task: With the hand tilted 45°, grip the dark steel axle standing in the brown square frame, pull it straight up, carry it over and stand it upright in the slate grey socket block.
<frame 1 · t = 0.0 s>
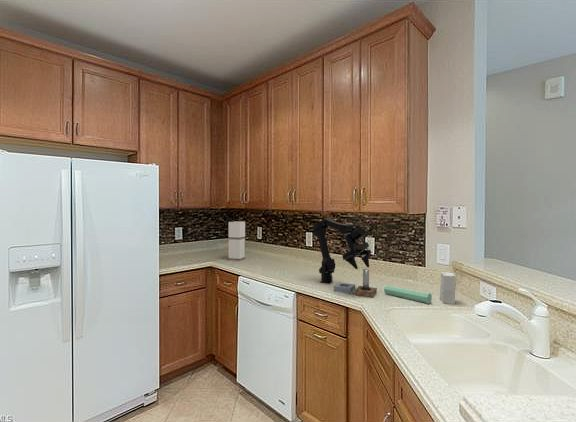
hand: (362, 268, 169), 15 cm above the counter, tool tilted 35°, fingers open, 9 cm apart
brown square frame: (365, 294, 170), on the counter
socket block: (344, 290, 178), on the counter
skincare box: (447, 301, 158), on the counter
green faceted rod: (406, 298, 164), on the counter
axle: (365, 282, 170), in the brown square frame
white square tower: (236, 259, 275), on the counter
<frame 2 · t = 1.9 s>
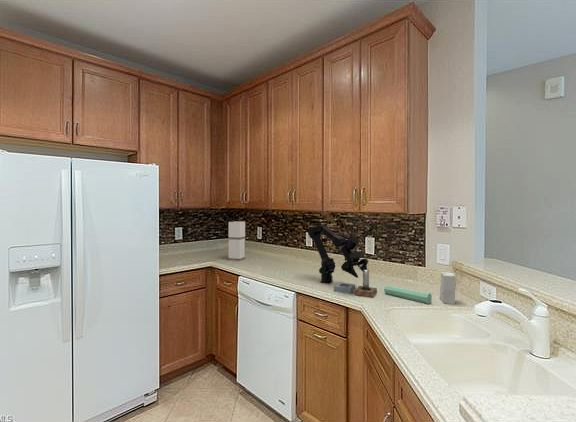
hand: (362, 276, 171), 10 cm above the counter, tool tilted 45°, fingers open, 9 cm apart
nothing on the counter moved.
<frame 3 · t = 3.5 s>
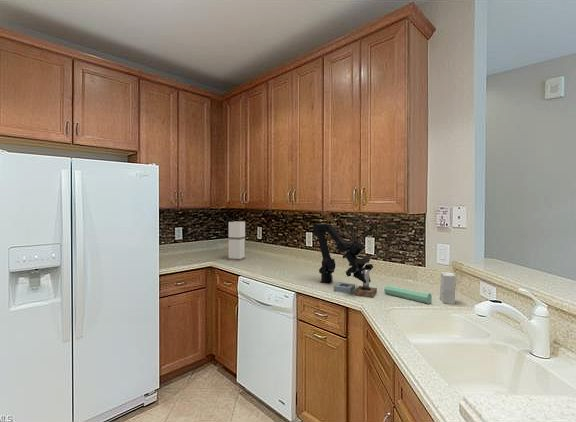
hand: (367, 282, 169), 7 cm above the counter, tool tilted 45°, fingers closed on axle, 3 cm apart
axle: (365, 282, 170), in the brown square frame, touching gripper
everything else where it was.
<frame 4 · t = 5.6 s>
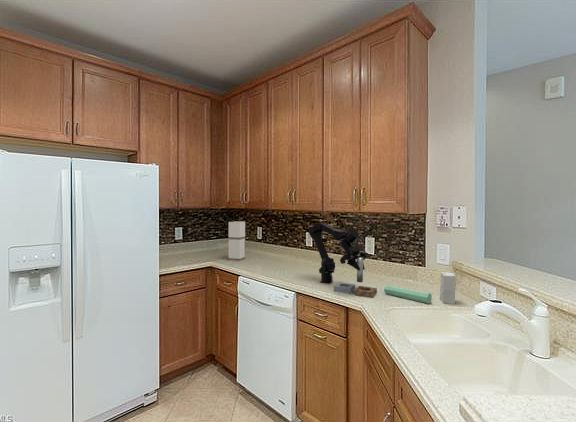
hand: (361, 269, 170), 14 cm above the counter, tool tilted 45°, fingers closed on axle, 3 cm apart
axle: (360, 269, 171), point 14 cm above the counter, touching gripper
everything else where it was.
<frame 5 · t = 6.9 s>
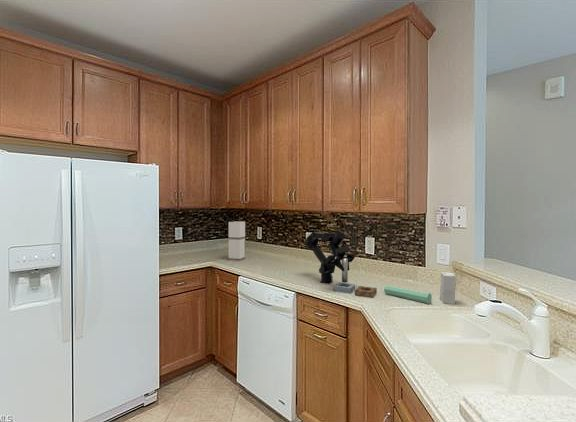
hand: (346, 270, 176), 12 cm above the counter, tool tilted 45°, fingers closed on axle, 3 cm apart
axle: (344, 270, 177), point 12 cm above the counter, touching gripper
everything else where it was.
when the fingers open (8 cm above the counter, at t = 7.9 s): axle drops 1 cm, resting in socket block.
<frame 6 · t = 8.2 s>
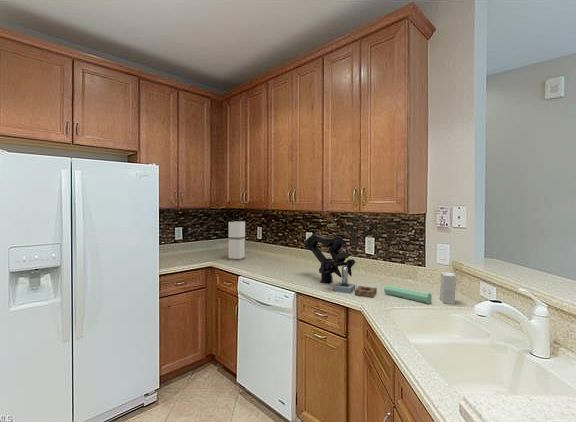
hand: (346, 276, 176), 9 cm above the counter, tool tilted 45°, fingers open, 7 cm apart
axle: (344, 278, 178), in the socket block
everything else where it was.
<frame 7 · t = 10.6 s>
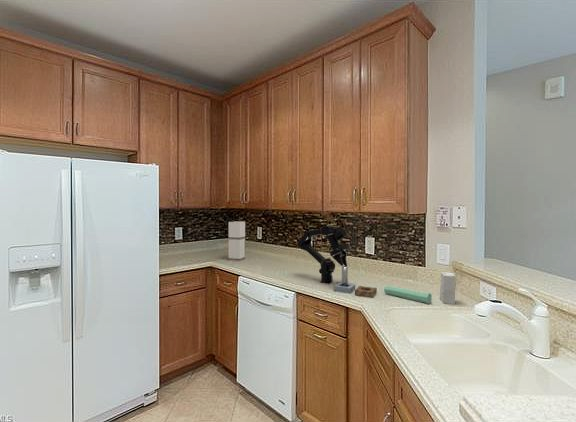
hand: (344, 266, 185), 13 cm above the counter, tool tilted 30°, fingers open, 9 cm apart
nothing on the counter moved.
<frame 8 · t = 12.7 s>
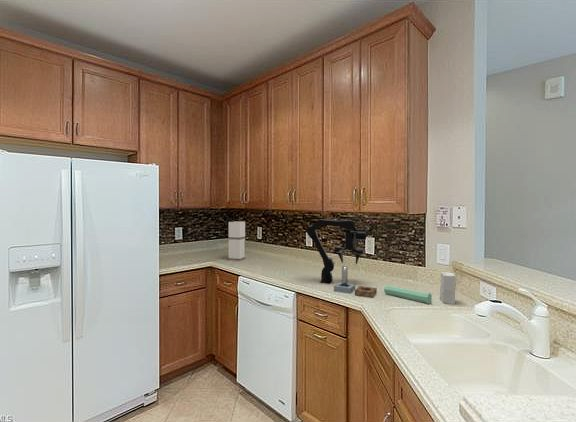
hand: (349, 263, 192), 13 cm above the counter, tool pointing down, fingers open, 9 cm apart
nothing on the counter moved.
at the end: axle 0.0 cm off-centre on the socket block, point 7.0 cm above the socket block's base; axle tilted 0°; the gripper is holding nothing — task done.
